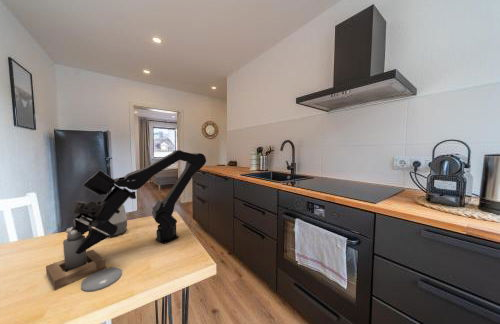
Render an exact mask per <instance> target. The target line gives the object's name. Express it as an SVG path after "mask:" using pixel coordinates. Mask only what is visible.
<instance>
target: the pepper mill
mask: <svg viewBox="0 0 500 324" xmlns="http://www.w3.org/2000/svg"><path fill="white" fill-rule="evenodd" d="M85 238H86V236H85V235H84V234H83V235H81V232H78V231H77V230H73V231H71V233H70V234H69V235H68V234H67V235H66V239H64V240H63V241H62V244H63V247H62V248H63V260H65V271H64V273H65V272H68V271H70V270H73V269H75V268H78V267H80V266H83V265H85V264H88V263H87V255H86V252H87V250H85V251H84V252H82V253H80V254H77V253H75V252H76V251H77V249H78V247H79V246H80V245H81V243H82V242H83V241H84V239H85Z"/></svg>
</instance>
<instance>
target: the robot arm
mask: <svg viewBox="0 0 500 324" xmlns="http://www.w3.org/2000/svg"><path fill="white" fill-rule="evenodd" d="M178 161H183V162H185V167H184V169H183V171H182V172H181V174H180V175H179V177H178V178H177V180H176V182H175V183H174V184H173V186H172V187H171V189H170V190H169V192H168V194H167V195H166V196H165V197H164V199H162V200H161V199H157V201H156V203H155V205H154V206H153V207H152V208H151V209H152V211H151V216H152V218H153V220H154V221H155V223H157V224H159V225H157V230H156V237H155V240H156V241H158V242H160V243H162V244H164V245H165V244H167V243H169V242H173V241H174V240H177V239H178V238H179V237H180V236H179V235H177V223H178V220H177V219H176V218H175V217H174V216H173V213H174V211H175V205H176V203H177V201H178V200H179V198H180V197H181V196H182V194H183V192H184V190H185V189H186V188H187V186H188V185H189V183H190V181H191V179H193V177H194V175H195V174H197V172H198V171H200V170H201V169H202V168H203V167H204V166H205V165H206V163H207V157H206V156H205V155H204V154H203V153H199V152H192V153H191V152H188V151H187V152H186V151H183V150H180V149H179V150H178V149H176V150H173V151H172V152H171V153H169V154H167V155H165V156H164V157H162V158H160V159H158V160H156V161H155V162H153V163H151V164H149V165H147V166H146V167H143V168H140V169H137V170H134V171H131V172H129V173H127V174H126V175H124V176H121V177H116V178H113V177H111V176H110V175H108V174H106V173H105V171H103V170H102V169H100V170H98V171H97V172H96V173H95V174H94V175H92V176H90V178H88V179H87V180H86V181H85V182H84V183H83V184H82V187H83V188H85V189H87V190H89V191H90V192H92V193H93V194H95V195H97V196H101V195H102V196H103V195H104V196H105V197H104V198H103V199H102V200H97V201H91V200H87V201H81V200H74V201H73V203H72V205H71V208H70V209H69V212H72V213H74V214H72V221H73V222H72V223H73V226H72V227H73V228H72V230H71V231H73V230H77V231H78V232H81V235H84V234H86V233H88V234H87V235H86V236H85V239H84V241H83V242H82V243H81V245H80V246H79V247H78V249H77V251H76V252H75V253H77V254H80V253H82V252H84V251H85V250H86V251H87V250H88V249H90V248H92V247H93V246H95V245H97V244H99V243H100V242H102V241H104V240H106V239H109V238H111V237H115V236H114V235H115V234H116V232H117V231H118V226H116V225H114V224H112V223H111V222H109V220H110V219H111V218H112V217H113V215H114V214H115V213H117V214H118V213H119V212H120V211H119V208H120V207H121V206H122V205H125V202H126V201H127V200H128V199H131V200H136V199H137V196H136V191H137V190H139V189H141V188H142V187H143V186H144V185H145V184H146V183H147V182H148V181H150V180H151V178H152V177H154V176H155V175H157V174H159V173H160V172H162V171H164V170H165V169H167V168H168V167H170V166H172V165H173V164H175V163H178ZM70 233H71V232H70ZM109 234H110V235H112V236H108V235H109Z"/></svg>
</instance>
